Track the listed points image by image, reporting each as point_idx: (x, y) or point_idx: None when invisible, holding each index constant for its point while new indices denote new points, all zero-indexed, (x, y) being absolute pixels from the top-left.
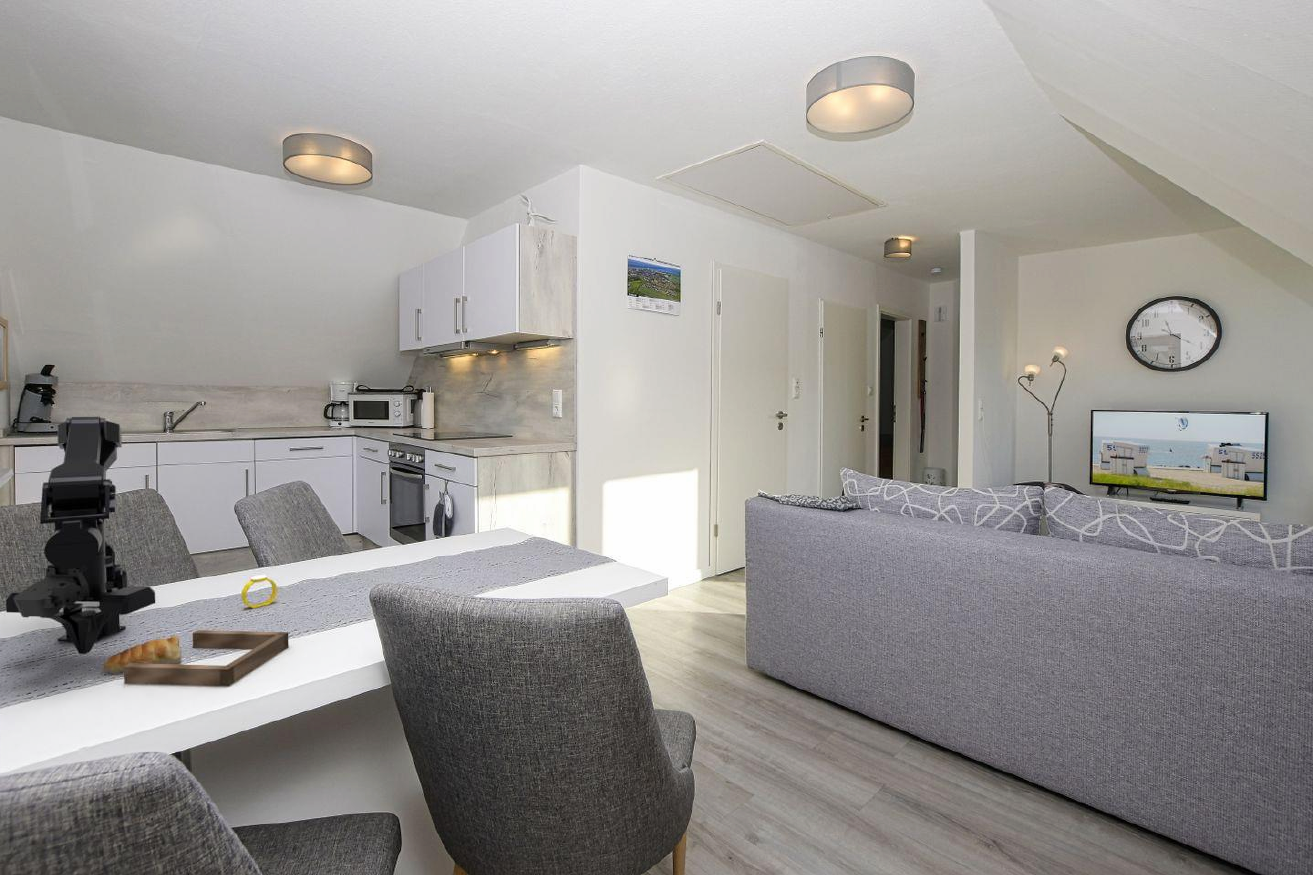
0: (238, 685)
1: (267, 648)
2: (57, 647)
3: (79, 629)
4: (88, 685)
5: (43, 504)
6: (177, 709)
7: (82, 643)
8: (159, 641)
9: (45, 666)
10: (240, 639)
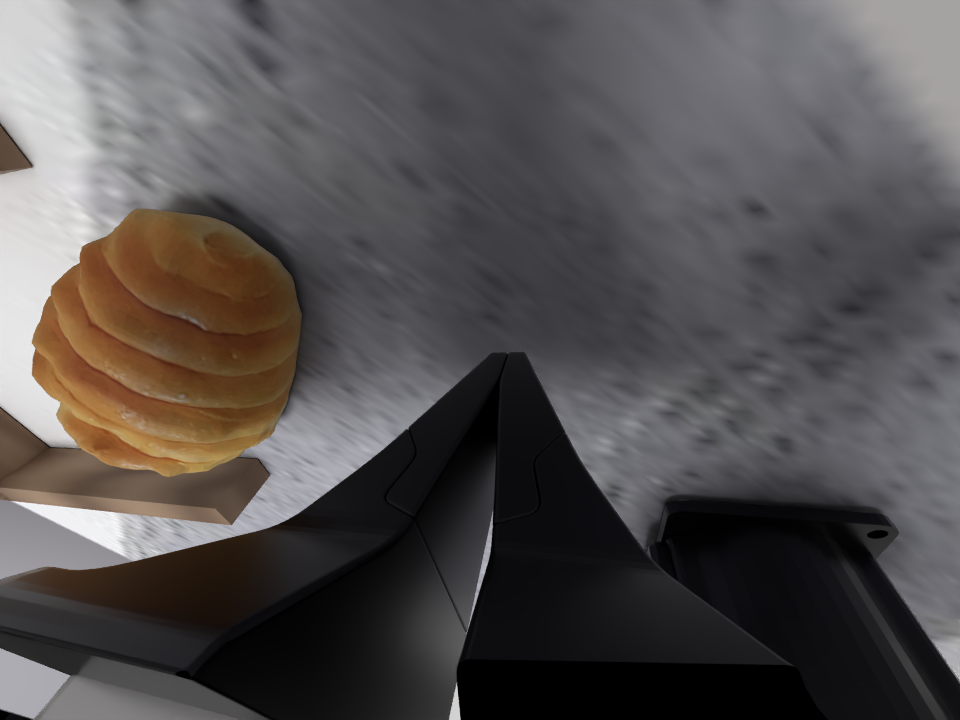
0: None
1: None
2: (832, 465)
3: (428, 471)
4: (102, 31)
5: None
6: None
7: (470, 388)
8: (94, 418)
9: (687, 248)
10: (96, 477)
